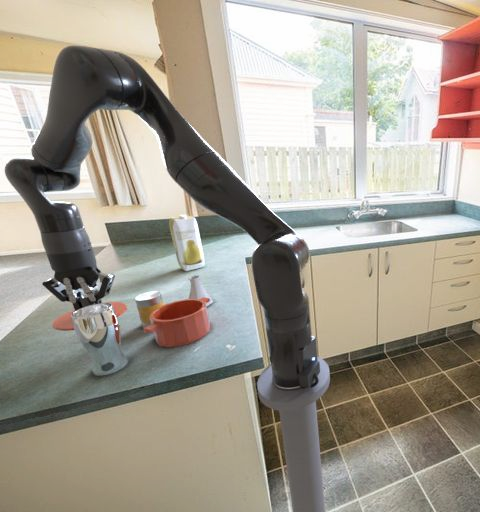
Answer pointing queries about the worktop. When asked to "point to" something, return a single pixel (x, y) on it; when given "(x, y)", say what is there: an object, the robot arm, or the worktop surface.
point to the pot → (180, 322)
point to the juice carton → (187, 242)
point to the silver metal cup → (100, 337)
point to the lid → (66, 320)
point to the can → (148, 305)
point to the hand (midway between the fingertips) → (91, 313)
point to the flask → (198, 289)
